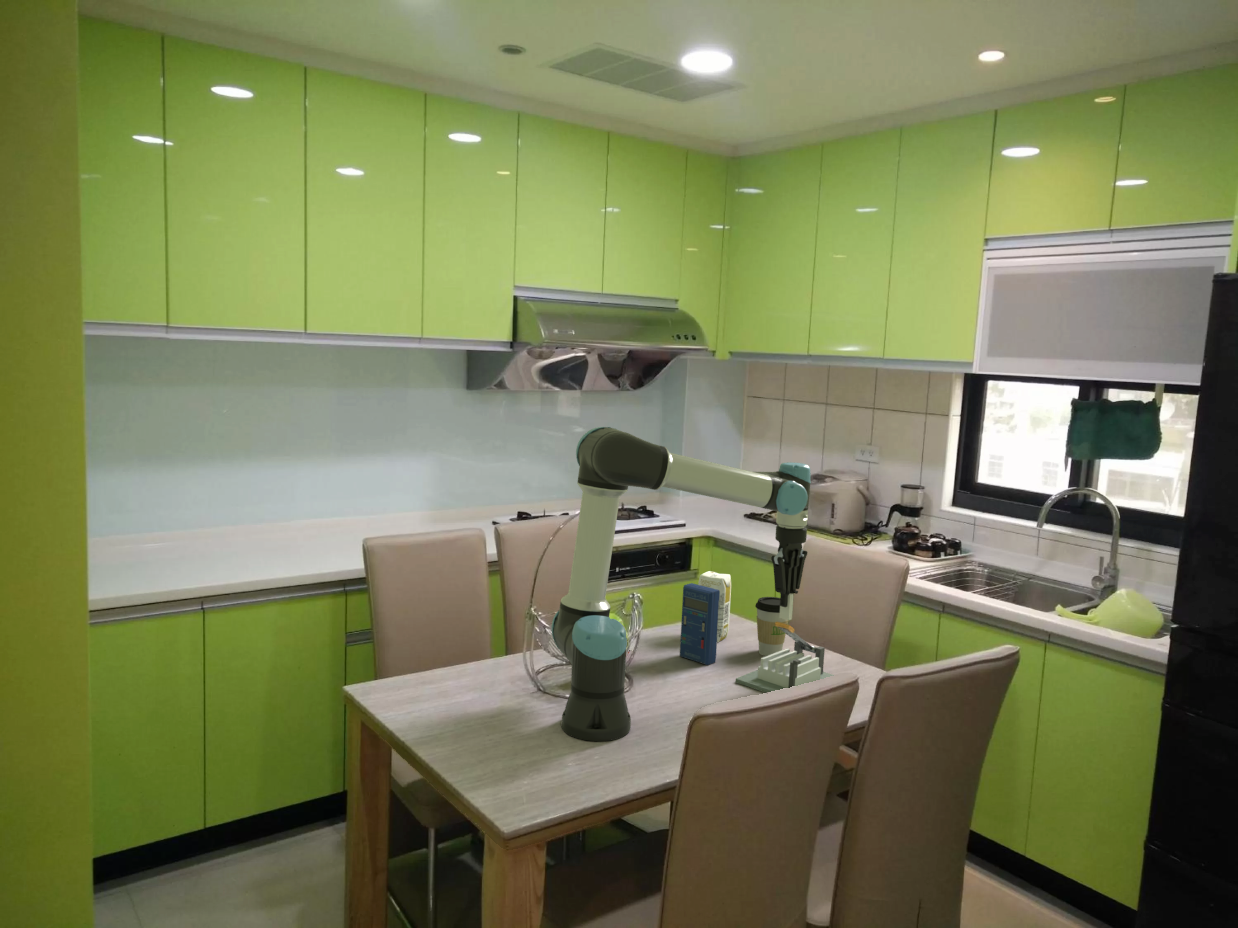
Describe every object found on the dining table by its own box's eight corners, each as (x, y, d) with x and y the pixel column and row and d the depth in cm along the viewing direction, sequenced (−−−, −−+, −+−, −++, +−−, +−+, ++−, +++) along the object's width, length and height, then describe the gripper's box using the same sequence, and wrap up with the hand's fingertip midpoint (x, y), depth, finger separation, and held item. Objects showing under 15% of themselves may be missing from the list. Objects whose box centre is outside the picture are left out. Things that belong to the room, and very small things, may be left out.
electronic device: (677, 657, 244) (681, 585, 242) (689, 652, 248) (693, 582, 245) (706, 666, 238) (710, 592, 235) (717, 661, 242) (721, 589, 239)
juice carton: (719, 643, 257) (723, 579, 254) (692, 638, 261) (696, 574, 259) (730, 637, 263) (734, 574, 261) (703, 631, 267) (707, 569, 265)
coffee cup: (790, 659, 246) (794, 606, 244) (755, 658, 246) (758, 605, 244) (784, 648, 255) (788, 596, 254) (750, 646, 256) (753, 595, 254)
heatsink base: (796, 703, 215) (798, 668, 214) (735, 682, 227) (737, 648, 226) (843, 681, 231) (845, 648, 230) (783, 662, 243) (785, 631, 242)
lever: (787, 631, 221) (789, 625, 222) (773, 627, 224) (776, 621, 225) (816, 654, 233) (818, 648, 234) (802, 650, 236) (805, 644, 236)
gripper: (790, 531, 214) (783, 627, 217) (818, 525, 223) (812, 617, 226) (763, 526, 219) (758, 619, 222) (793, 520, 228) (787, 610, 231)
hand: (785, 618), depth 224 cm, fingers closed
